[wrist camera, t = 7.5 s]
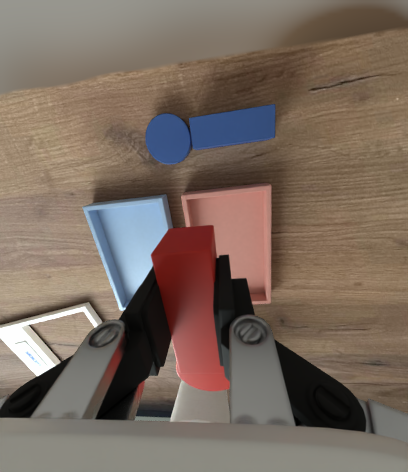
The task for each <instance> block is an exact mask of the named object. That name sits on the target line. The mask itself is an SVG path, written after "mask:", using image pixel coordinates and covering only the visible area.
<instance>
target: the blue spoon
mask: <svg viewBox="0 0 408 472" xmlns="http://www.w3.org/2000/svg"><path fill="white" fill-rule="evenodd" d="M189 123H190V130H191V132H190V130H189V128H188V126H187V125H186V123H185V122H184V121H183V120H182V119H181V118H179V117H178V116H176V115H174V114H170V113H163V114H160V115H157V116H156V117H154V118H153V119H152V120H151V122H150V123H149V125H148V127H147V130H146V144H147V148H148V150H149V152H150V153H151V155H152V156H153V157H154V158H155V159H156V160H158V161H159V162H161V163H164V164H176V163H179V162H181V161H183V160H184V159H185V158H186V157H187V156H188V154H189V153H190V150H191V147H192V145H193V149H195V150H202V149H209V148H216V147H223V146H230V145H237V144H244V143H251V142H258V141H265V140H269V139H272V138H274V137H275V104H272V105H266V106H259V107H253V108H247V109H241V110H235V111H228V112H222V113H216V114H210V115H204V116H198V117H191V118H189Z"/></svg>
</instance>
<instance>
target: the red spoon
mask: <svg viewBox="0 0 408 472" xmlns="http://www.w3.org/2000/svg"><path fill="white" fill-rule="evenodd" d="M216 258H217V253H216V243H215V234H214V226H213V225H205V226H194V227H182V228H171V229H168V231H167V232H166V234H165V235H164V236H163V238H162V239H161V241H160V242H159V243H158V245H157V246H156V248H155V249H154V251H153V252H152V253H151V259H152V263H153V267H154V271H155V275H156V279H157V283H158V285H159V289H160V293H161V297H162V301H163V305H164V309H165V313H166V317H167V321H168V325H169V329H170V333H171V337H172V338H171V339H172V343H173V347H174V351H175V355H176V360H177V361H176V370H177V373H178V375H179V377H180V378H181V379H182V380H183V381H184V382H185V383H187V384H188V385H190V386H192V387H194V388H196V389H200V390H204V391H222V390H226V389H229V388H230V382H229V381H228V380H227V379H226V378H225V373H224V366H220V361H219V353H218V346H217V338H216V330H215V323H214V315H213V295H214V282H215V272H216Z"/></svg>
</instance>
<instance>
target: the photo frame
mask: <svg viewBox="0 0 408 472" xmlns="http://www.w3.org/2000/svg"><path fill="white" fill-rule="evenodd" d="M81 311H84V313H85V314H86V316H87V317H88V318H89V320H90V321H91V323H92V324H93V325H94V327H96V326H98V325H100V324H101V323H103V322H102V321H101V319H100V318H99V316H98V315H97V313H96V312H95V311H94V309H93V308H92V306H91V305H90V303H89V302H87V303H84V304H80V305H76V306H72V307H68V308H64V309H60V310H57V311H53V312H49V313H45V314H41V315H37V316H34V317H30V318H26V319H22V320H18V321H14V322H11V323H7V324H3V325H0V338H1V339H2V340H3V341H4V342H5V343H6V344H7V345H8V346H9V347H10V349H11V350H12V351H13V352H14V353H15V354H16V355H17V356H18V357H19V358H20V359H21V360H22V361H23V362H24V363H25V364H26V365H27V366H28V367H29V368H30V369H31V370H32V371H33V372H34V373H35V374H36V375H37V376H39V375H40V374H42V373H44V372H45V371H47V370H49V369H50V368H52V367H54V366H56V365H57V364H59V363H61V362H60V361H59V359H58V358H57V357H56V356H55V355H54V354H53V353H52V351H51V350H50V349H49V348H48V347H47V346H46V345H45V343H44V342H43V341H42V340H41V339H40V338H39V337H38V335H37V334H36V333H35V332H34V331H33V330H32V329H31V327H30V326H29V324H33V323H37V322H41V321H45V320H49V319H53V318H57V317H61V316H65V315H69V314H73V313H77V312H81Z"/></svg>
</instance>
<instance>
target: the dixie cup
mask: <svg viewBox="0 0 408 472" xmlns="http://www.w3.org/2000/svg"><path fill="white" fill-rule="evenodd" d="M170 422H201V423H230V412H229V405H228V398H227V391H226V390H222V391H204V390H200V389H196V388H194V387H192V386H190V385H188V384H187V383H185V382H184V381H183V380H182V381H181V384H180V388H179V391H178V395H177V398H176V402H175V405H174V409H173V412H172V416H171V419H170Z"/></svg>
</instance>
